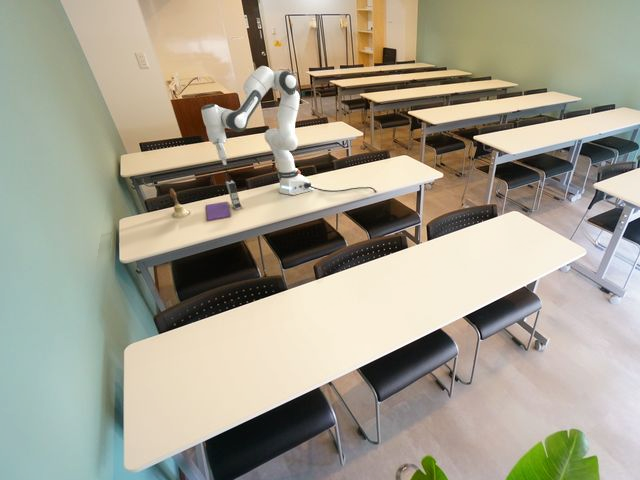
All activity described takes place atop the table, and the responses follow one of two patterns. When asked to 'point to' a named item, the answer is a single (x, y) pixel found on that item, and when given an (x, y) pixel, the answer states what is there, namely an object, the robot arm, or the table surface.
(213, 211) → the mat
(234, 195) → the vintage mobile phone
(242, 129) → the robot arm
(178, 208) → the hand bell
